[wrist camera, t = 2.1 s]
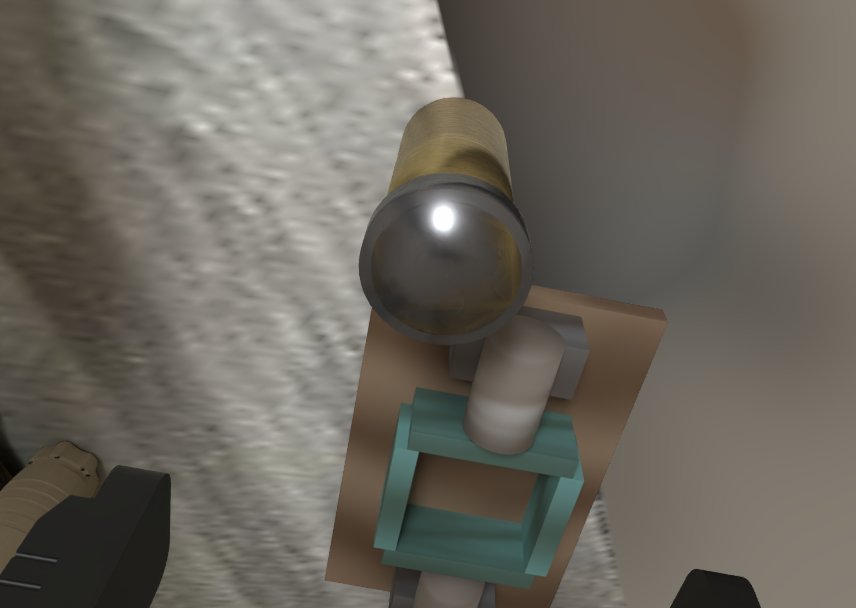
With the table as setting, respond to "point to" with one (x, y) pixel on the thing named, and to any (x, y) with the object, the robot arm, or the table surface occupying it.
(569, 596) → the table surface
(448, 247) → the cylinder
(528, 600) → the shaft bench
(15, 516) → the handle
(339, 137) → the table surface
